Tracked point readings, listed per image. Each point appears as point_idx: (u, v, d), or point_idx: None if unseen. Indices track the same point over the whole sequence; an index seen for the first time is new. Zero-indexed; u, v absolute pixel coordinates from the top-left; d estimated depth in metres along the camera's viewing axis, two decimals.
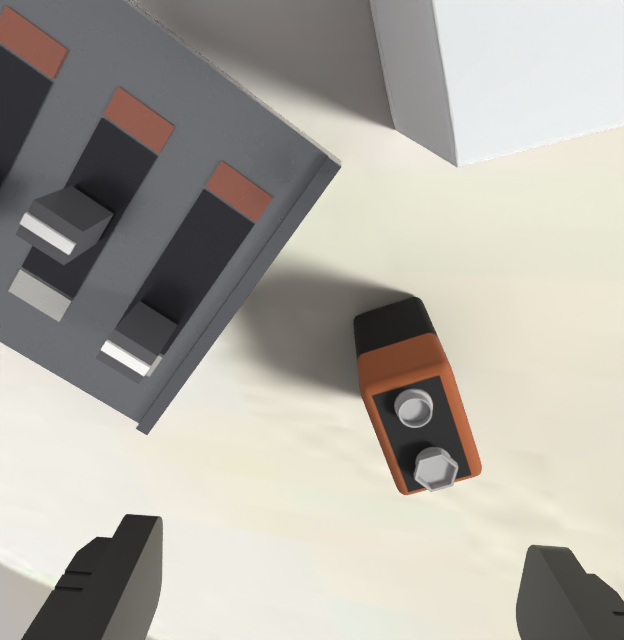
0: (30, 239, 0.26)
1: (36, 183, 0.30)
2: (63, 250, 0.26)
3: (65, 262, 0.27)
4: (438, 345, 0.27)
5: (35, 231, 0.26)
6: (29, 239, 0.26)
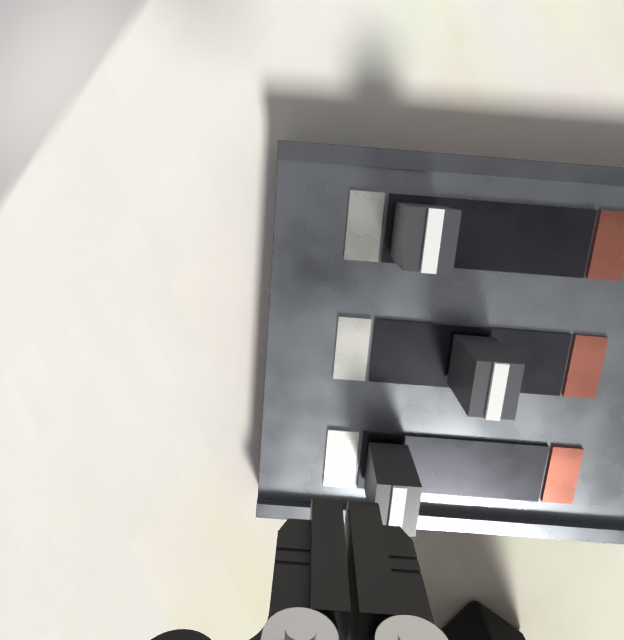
0: (479, 376, 0.23)
1: (473, 299, 0.27)
2: (488, 413, 0.24)
3: (470, 415, 0.24)
4: None
5: (493, 380, 0.23)
6: (478, 376, 0.23)
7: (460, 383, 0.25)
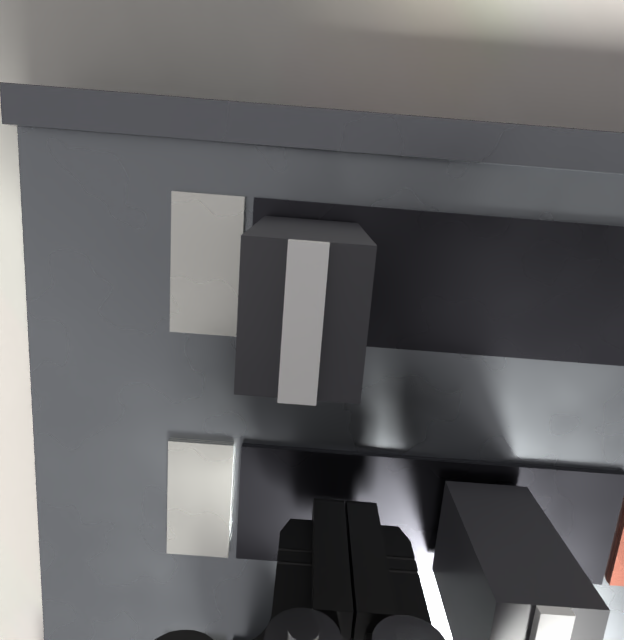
0: (502, 636, 0.10)
1: (433, 406, 0.14)
2: None
3: None
4: None
5: None
6: (500, 633, 0.10)
7: (458, 607, 0.12)
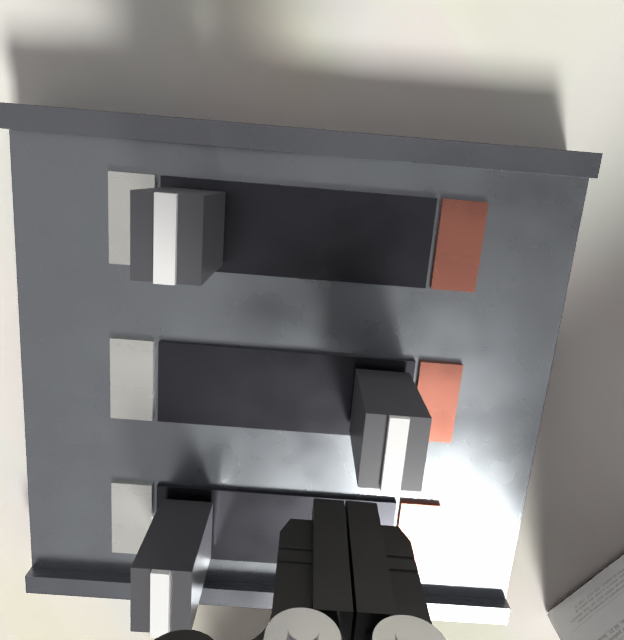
0: (371, 434, 0.17)
1: (285, 315, 0.21)
2: (383, 483, 0.17)
3: (361, 485, 0.18)
4: None
5: (389, 439, 0.17)
6: (369, 433, 0.17)
7: (355, 437, 0.19)
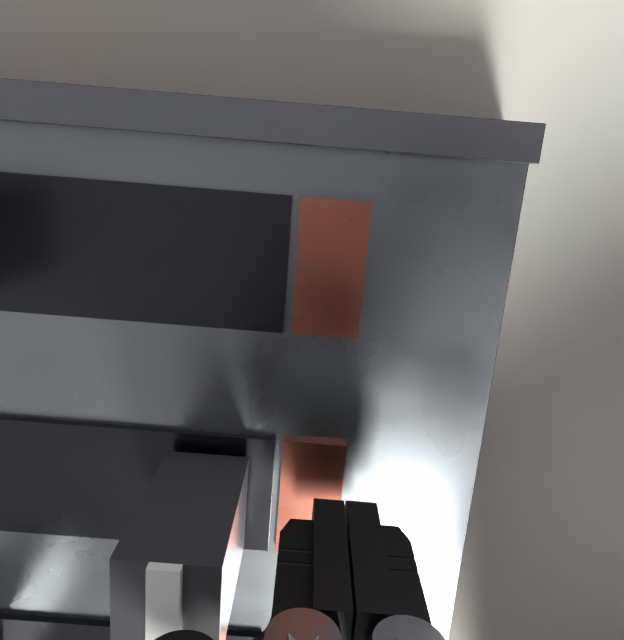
0: (121, 592, 0.10)
1: (77, 371, 0.14)
2: None
3: None
4: None
5: (150, 602, 0.10)
6: (119, 591, 0.10)
7: None
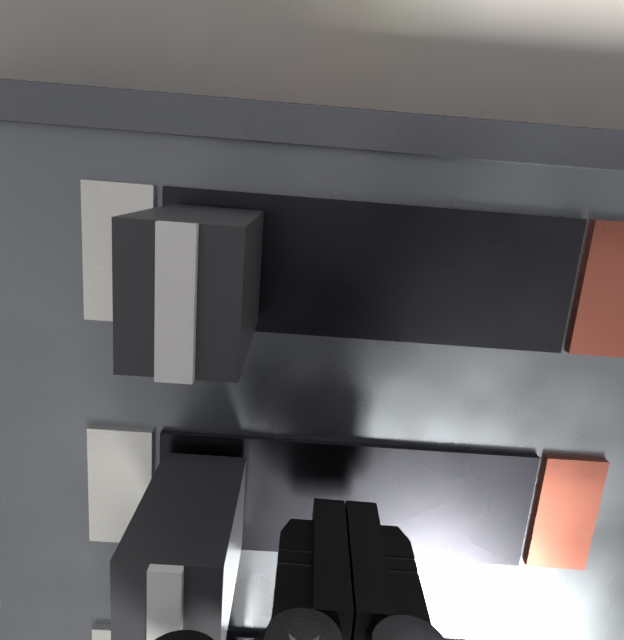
0: (122, 595, 0.10)
1: (348, 392, 0.14)
2: None
3: None
4: None
5: (151, 604, 0.10)
6: (119, 592, 0.10)
7: None
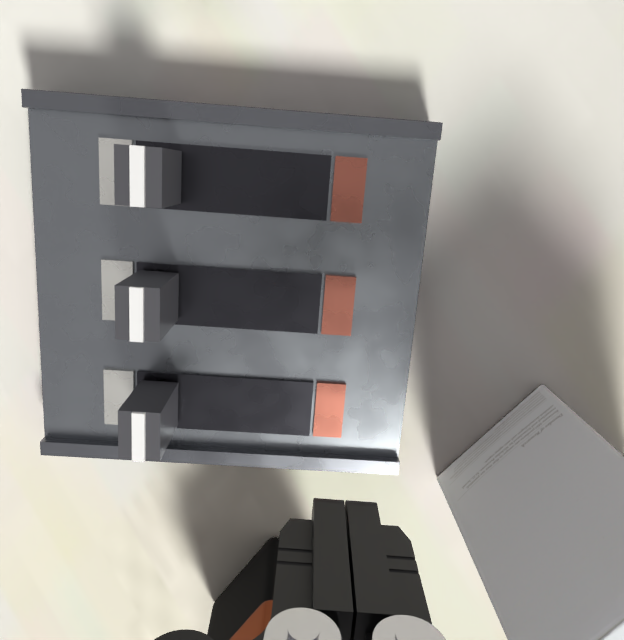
0: (119, 300, 0.25)
1: (227, 242, 0.29)
2: (130, 335, 0.25)
3: (118, 338, 0.26)
4: None
5: (131, 303, 0.25)
6: (118, 299, 0.25)
7: None
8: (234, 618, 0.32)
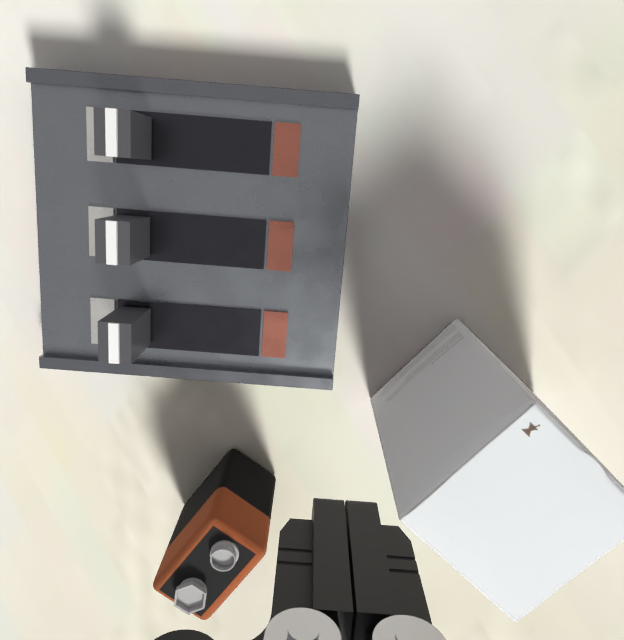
0: (98, 231, 0.32)
1: (189, 192, 0.36)
2: (107, 259, 0.32)
3: (98, 262, 0.32)
4: (268, 532, 0.36)
5: (107, 233, 0.32)
6: (97, 231, 0.32)
7: None
8: (196, 507, 0.39)
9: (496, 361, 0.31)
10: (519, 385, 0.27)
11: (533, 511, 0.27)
